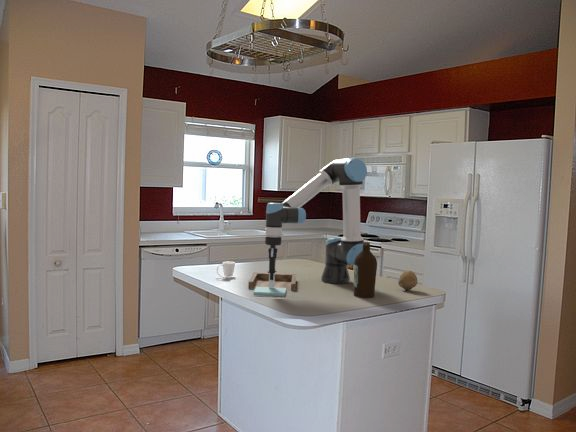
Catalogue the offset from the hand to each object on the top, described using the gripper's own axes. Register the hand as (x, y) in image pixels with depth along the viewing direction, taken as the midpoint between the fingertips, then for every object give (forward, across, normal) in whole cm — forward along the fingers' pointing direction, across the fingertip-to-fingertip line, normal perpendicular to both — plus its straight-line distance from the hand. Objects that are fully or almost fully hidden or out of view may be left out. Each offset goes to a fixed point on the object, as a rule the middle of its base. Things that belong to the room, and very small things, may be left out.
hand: (271, 286), depth 240 cm
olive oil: (+3, -1, +43) cm, 43 cm away
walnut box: (+3, -14, 0) cm, 14 cm away
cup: (+3, -31, -26) cm, 40 cm away
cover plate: (+3, +5, 0) cm, 6 cm away
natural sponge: (+3, -18, +67) cm, 69 cm away
